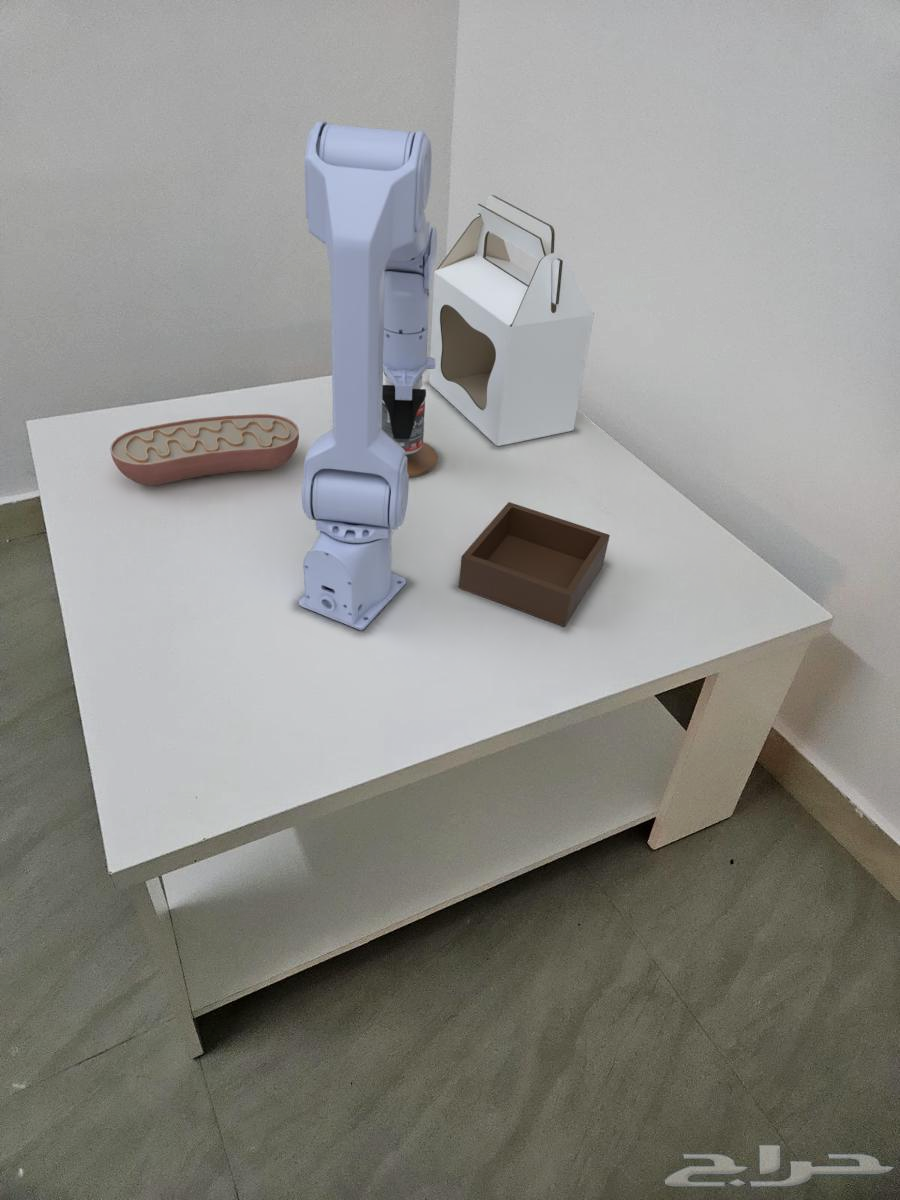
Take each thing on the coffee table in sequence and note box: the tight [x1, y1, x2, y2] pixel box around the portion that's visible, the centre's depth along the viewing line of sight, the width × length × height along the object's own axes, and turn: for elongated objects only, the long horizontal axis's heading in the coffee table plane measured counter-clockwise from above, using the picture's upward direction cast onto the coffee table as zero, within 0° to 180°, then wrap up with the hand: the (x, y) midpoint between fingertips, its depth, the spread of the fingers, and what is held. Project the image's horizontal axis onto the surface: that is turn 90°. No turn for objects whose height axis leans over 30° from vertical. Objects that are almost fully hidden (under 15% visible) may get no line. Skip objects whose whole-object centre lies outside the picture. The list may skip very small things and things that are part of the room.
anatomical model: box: [109, 413, 300, 486], centre depth 104 cm, size 23×10×5 cm, turn 112°
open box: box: [458, 501, 611, 628], centre depth 91 cm, size 13×13×4 cm
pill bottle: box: [382, 375, 426, 455], centre depth 106 cm, size 6×6×10 cm
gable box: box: [428, 194, 595, 447], centre depth 116 cm, size 22×13×28 cm, turn 27°
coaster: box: [405, 441, 438, 479], centre depth 111 cm, size 10×10×1 cm
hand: (401, 426), depth 108 cm, fingers closed on pill bottle, 5 cm apart
